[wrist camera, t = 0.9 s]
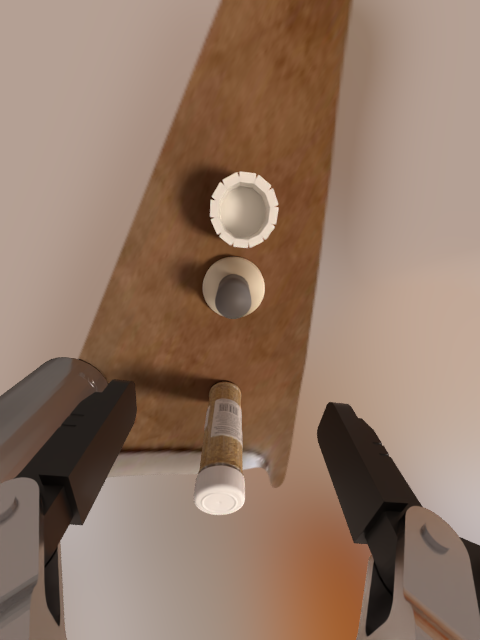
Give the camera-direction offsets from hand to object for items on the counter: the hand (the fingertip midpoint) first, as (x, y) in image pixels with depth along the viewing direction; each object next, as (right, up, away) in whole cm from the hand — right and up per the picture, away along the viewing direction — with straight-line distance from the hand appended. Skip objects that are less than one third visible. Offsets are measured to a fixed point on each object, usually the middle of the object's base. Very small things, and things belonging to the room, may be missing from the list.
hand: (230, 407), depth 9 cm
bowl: (+1, +14, +13) cm, 19 cm away
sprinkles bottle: (-2, -7, +22) cm, 23 cm away
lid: (0, +7, +16) cm, 18 cm away
